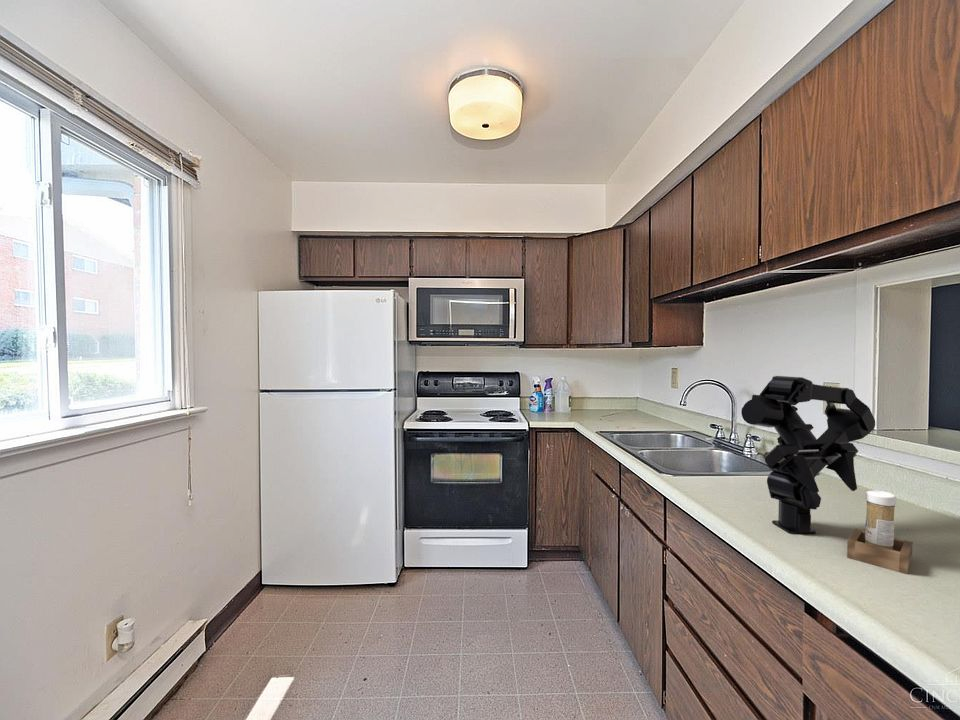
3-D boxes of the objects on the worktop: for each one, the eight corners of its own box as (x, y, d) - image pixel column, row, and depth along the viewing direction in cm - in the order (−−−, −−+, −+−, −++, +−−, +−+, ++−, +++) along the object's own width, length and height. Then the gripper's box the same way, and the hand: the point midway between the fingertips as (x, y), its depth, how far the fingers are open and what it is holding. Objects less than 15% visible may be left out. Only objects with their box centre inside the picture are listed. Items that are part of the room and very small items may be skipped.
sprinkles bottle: (860, 551, 95) (862, 488, 94) (887, 555, 93) (890, 490, 92) (869, 560, 90) (871, 494, 90) (898, 565, 89) (900, 497, 88)
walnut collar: (847, 557, 92) (847, 540, 92) (855, 544, 98) (855, 528, 98) (907, 574, 85) (908, 555, 85) (912, 559, 91) (912, 542, 91)
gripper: (803, 445, 110) (846, 506, 99) (735, 448, 106) (772, 511, 96) (835, 418, 102) (885, 481, 91) (763, 421, 98) (806, 486, 88)
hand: (835, 491), depth 92 cm, fingers open, 9 cm apart
